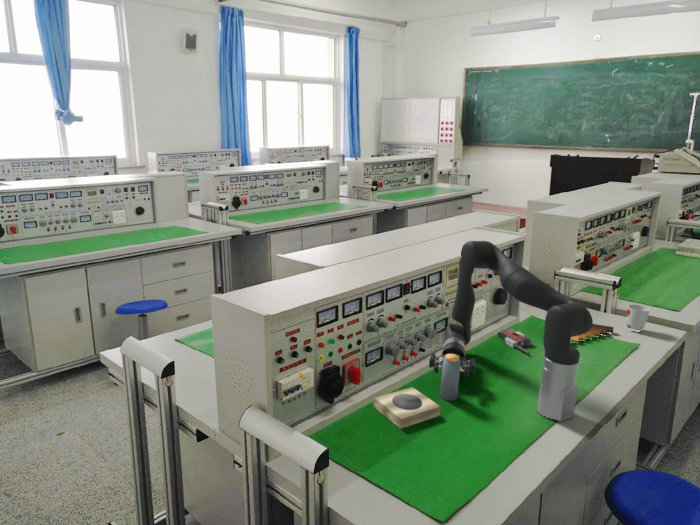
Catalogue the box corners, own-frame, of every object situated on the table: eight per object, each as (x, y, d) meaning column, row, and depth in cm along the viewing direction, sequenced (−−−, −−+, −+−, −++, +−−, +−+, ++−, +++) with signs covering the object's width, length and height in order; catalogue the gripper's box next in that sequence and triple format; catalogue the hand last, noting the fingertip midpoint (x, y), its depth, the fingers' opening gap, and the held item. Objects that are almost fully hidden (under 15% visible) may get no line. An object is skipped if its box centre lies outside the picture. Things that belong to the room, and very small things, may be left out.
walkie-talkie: (492, 337, 215) (526, 357, 197) (493, 326, 214) (528, 346, 196) (510, 334, 218) (545, 354, 200) (511, 324, 217) (547, 343, 199)
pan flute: (612, 333, 224) (548, 322, 233) (613, 325, 223) (549, 315, 232) (613, 355, 202) (542, 342, 211) (614, 347, 201) (544, 334, 210)
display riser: (439, 415, 155) (440, 405, 154) (400, 428, 147) (401, 417, 147) (411, 395, 165) (412, 386, 164) (373, 407, 158) (374, 396, 157)
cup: (625, 325, 232) (629, 303, 229) (646, 330, 227) (651, 307, 225) (622, 330, 226) (626, 308, 223) (643, 335, 221) (648, 312, 219)
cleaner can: (460, 398, 165) (464, 358, 162) (447, 402, 162) (451, 361, 159) (449, 390, 169) (452, 351, 166) (436, 394, 167) (440, 354, 163)
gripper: (433, 339, 182) (428, 358, 166) (476, 344, 179) (475, 364, 163) (431, 359, 183) (426, 380, 168) (474, 365, 180) (473, 387, 165)
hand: (450, 372), depth 166 cm, fingers open, 8 cm apart
